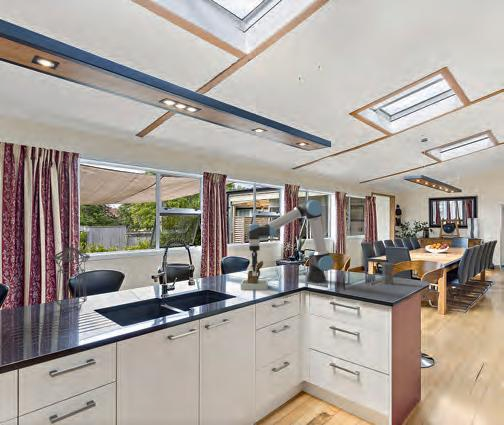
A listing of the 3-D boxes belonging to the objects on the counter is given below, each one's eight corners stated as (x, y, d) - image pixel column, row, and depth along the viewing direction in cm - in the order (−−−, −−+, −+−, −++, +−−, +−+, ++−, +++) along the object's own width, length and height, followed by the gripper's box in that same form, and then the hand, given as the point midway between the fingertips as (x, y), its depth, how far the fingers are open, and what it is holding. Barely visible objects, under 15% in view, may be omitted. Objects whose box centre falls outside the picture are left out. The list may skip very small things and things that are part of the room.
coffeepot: (398, 283, 244) (398, 260, 245) (393, 285, 238) (393, 261, 238) (378, 280, 255) (378, 258, 256) (373, 282, 249) (373, 259, 249)
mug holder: (267, 285, 240) (267, 280, 240) (267, 289, 226) (267, 284, 226) (242, 285, 241) (242, 280, 242) (240, 289, 227) (240, 283, 228)
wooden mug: (266, 286, 234) (266, 261, 235) (250, 288, 227) (250, 262, 228) (259, 284, 242) (259, 260, 242) (244, 286, 235) (244, 261, 235)
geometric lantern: (79, 304, 190) (79, 245, 191) (91, 309, 180) (91, 246, 181) (49, 310, 178) (50, 247, 179) (60, 315, 168) (61, 248, 169)
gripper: (250, 243, 247) (251, 271, 247) (247, 246, 222) (248, 277, 222) (260, 243, 247) (260, 271, 246) (258, 246, 222) (259, 277, 221)
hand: (254, 274), depth 234 cm, fingers open, 13 cm apart
